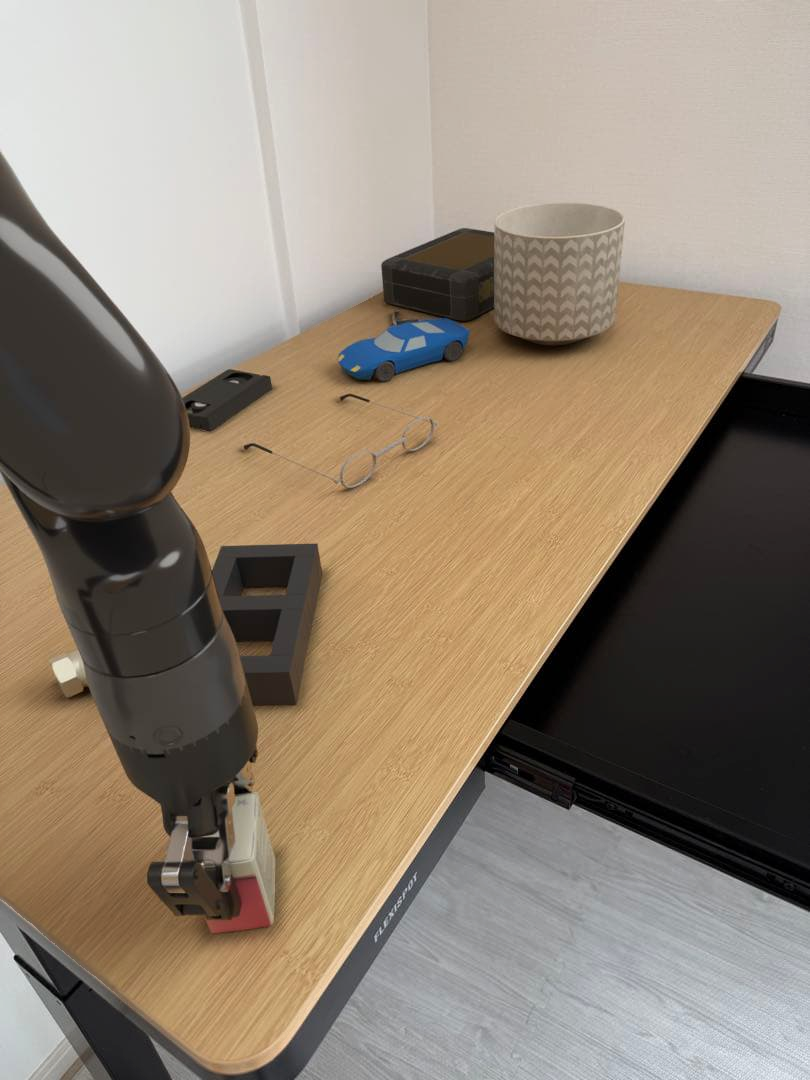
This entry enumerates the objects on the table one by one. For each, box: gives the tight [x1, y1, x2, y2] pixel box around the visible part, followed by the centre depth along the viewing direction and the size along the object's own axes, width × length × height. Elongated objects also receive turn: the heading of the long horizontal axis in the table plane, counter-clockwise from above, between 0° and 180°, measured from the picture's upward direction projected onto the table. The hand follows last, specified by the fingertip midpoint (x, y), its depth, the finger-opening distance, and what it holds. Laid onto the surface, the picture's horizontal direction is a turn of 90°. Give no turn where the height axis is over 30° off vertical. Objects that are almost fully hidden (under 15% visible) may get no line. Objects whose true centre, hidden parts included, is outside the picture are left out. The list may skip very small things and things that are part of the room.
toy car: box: [337, 317, 470, 383], centre depth 122 cm, size 9×20×5 cm, turn 120°
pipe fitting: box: [48, 649, 89, 698], centre depth 70 cm, size 8×4×7 cm
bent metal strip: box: [391, 309, 420, 326], centre depth 137 cm, size 7×1×5 cm
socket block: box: [211, 542, 323, 706], centre depth 74 cm, size 18×10×4 cm, turn 178°
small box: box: [203, 791, 276, 934], centre depth 52 cm, size 5×4×8 cm
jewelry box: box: [380, 227, 494, 322], centre depth 145 cm, size 25×20×8 cm
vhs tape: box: [182, 368, 273, 432], centre depth 115 cm, size 14×8×2 cm, turn 151°
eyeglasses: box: [243, 393, 438, 489], centre depth 103 cm, size 18×19×4 cm
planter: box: [493, 201, 626, 347], centre depth 123 cm, size 19×19×18 cm
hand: (234, 867), depth 52 cm, fingers closed on small box, 5 cm apart
